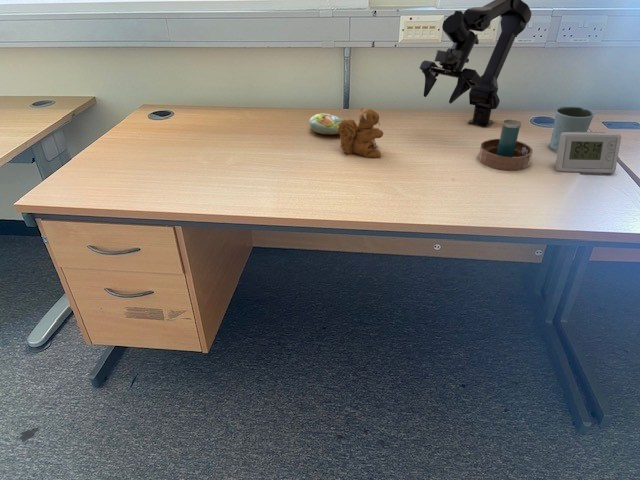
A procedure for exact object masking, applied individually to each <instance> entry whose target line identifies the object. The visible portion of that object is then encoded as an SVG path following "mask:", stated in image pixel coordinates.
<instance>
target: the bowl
mask: <svg viewBox="0 0 640 480" xmlns="http://www.w3.org/2000/svg"><path fill="white" fill-rule="evenodd" d="M499 141H500V138H490V139H486V140H484V141H483V142H481V144H480V148H479V153H478V161H479V162H480V163H481V164H483V165H484V166H486V167H489V168H492V169H495V170H500V171H512V172H513V171H522V170H524V169H527V168H528V167H529V166H530V164H531V161H532V157H533V153H534V152H533V151H534V149H533V148H532V147H531V146H530V145H528V144H527V143H526V142H523V141H519V140H517V142H516V146H515V151H514V155H513V157H505V156H499V155H497V150H498V145H499Z"/></svg>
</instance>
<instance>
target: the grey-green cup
mask: <svg viewBox="0 0 640 480" xmlns="http://www.w3.org/2000/svg"><path fill="white" fill-rule="evenodd" d="M594 116H595V112H594V111H593V110H591V109H589V108H585V107H583V106H576V105H575V106H573V105H566V106H560V107H558V108H556V110H555V114H554V121H553V126H552V128H553V129H552V133H551V137H550V142H549V147H550V148H551V149H552V150H554V151H556V152H557V150H558V143H559V137H560V134H561V133H563V132H589V131H588V130H589V129H590V128H589V127H590V125H591V124H592V120H593V118H594Z"/></svg>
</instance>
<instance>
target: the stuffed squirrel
mask: <svg viewBox="0 0 640 480" xmlns="http://www.w3.org/2000/svg"><path fill="white" fill-rule="evenodd" d="M341 120H342V121H341V123H339V124H338V126H339V128H338V129H337V130H338V133H339V134H338V135H339V136H340V137H339V139H340V148H341V149H342V151H343V152H344V153H346V154H348V155H351V154H355V153H356V154H357V155H360V156H361V157H362V156H363V157H367V158H379V157H381V156H382V152H381V150H379V149H376V146H377V143H376V139H381V138H382V137H384V131H382V130H381V129H380V128H378V127H374V126H376V125H377V124H378V126H380V125H381V123H380V114H379V112H377V111H375V110H373V109H370V108H361V109H360V114H359V120H358V121H359V122H358V124H357V123H356V122H355V119H341Z"/></svg>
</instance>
